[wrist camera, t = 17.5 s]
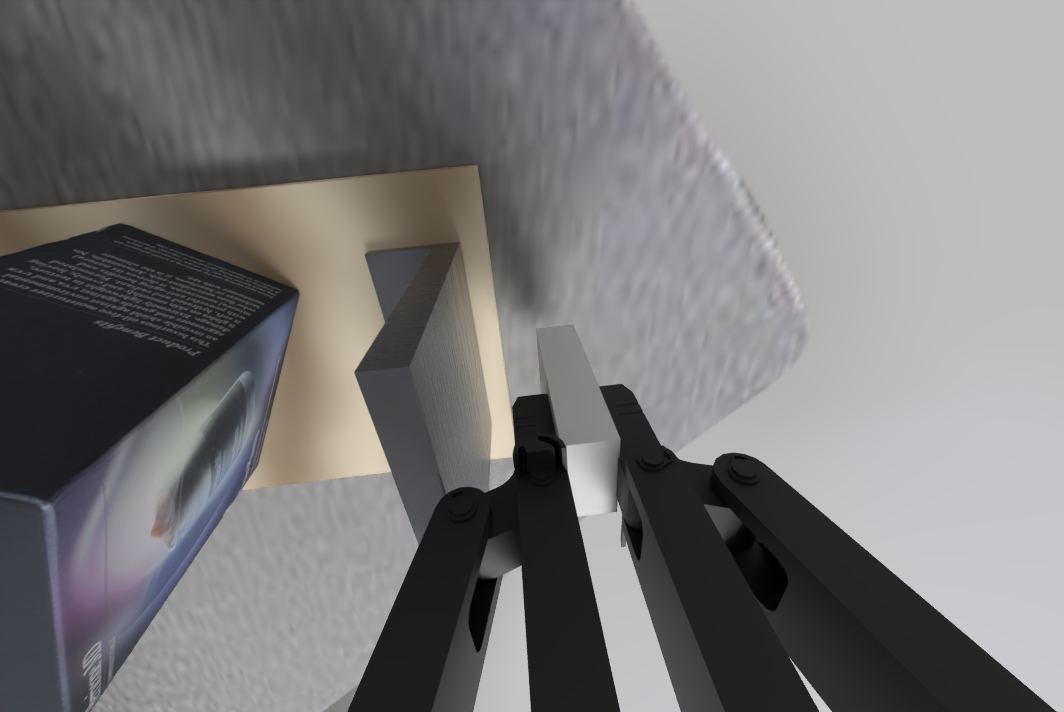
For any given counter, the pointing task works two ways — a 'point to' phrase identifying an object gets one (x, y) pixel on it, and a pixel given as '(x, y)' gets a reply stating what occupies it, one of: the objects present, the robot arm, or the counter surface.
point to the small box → (119, 442)
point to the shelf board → (316, 291)
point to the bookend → (427, 377)
